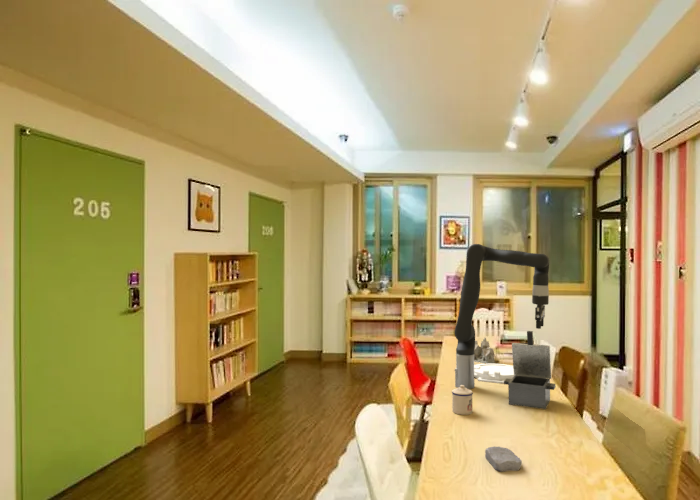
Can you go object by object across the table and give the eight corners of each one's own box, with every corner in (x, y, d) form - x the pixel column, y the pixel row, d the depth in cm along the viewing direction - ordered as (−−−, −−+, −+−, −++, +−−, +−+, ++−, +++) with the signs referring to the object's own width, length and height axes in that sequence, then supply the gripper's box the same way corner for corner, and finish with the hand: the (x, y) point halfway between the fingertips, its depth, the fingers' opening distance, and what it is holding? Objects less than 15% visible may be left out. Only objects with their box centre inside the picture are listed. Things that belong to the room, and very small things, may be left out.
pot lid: (510, 331, 237) (512, 329, 239) (514, 377, 242) (515, 375, 245) (548, 333, 229) (549, 331, 231) (551, 381, 234) (551, 379, 237)
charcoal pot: (501, 403, 229) (501, 381, 229) (508, 394, 243) (508, 374, 243) (552, 410, 218) (552, 387, 218) (556, 400, 232) (556, 379, 232)
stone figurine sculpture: (467, 357, 331) (468, 335, 330) (493, 359, 328) (493, 337, 328) (470, 364, 315) (471, 341, 314) (496, 366, 313) (497, 342, 312)
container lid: (528, 372, 292) (528, 362, 292) (519, 386, 261) (519, 374, 261) (477, 367, 305) (477, 357, 305) (463, 380, 274) (463, 369, 274)
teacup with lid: (471, 416, 211) (471, 388, 212) (450, 414, 214) (450, 387, 215) (474, 407, 223) (474, 382, 223) (454, 406, 226) (454, 380, 226)
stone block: (509, 461, 169) (481, 456, 168) (512, 447, 169) (484, 443, 168) (524, 478, 157) (494, 473, 157) (527, 463, 157) (497, 458, 157)
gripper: (534, 293, 250) (534, 324, 250) (530, 295, 238) (529, 328, 238) (550, 293, 247) (549, 326, 247) (546, 296, 234) (545, 330, 234)
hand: (539, 327), depth 242 cm, fingers open, 8 cm apart
